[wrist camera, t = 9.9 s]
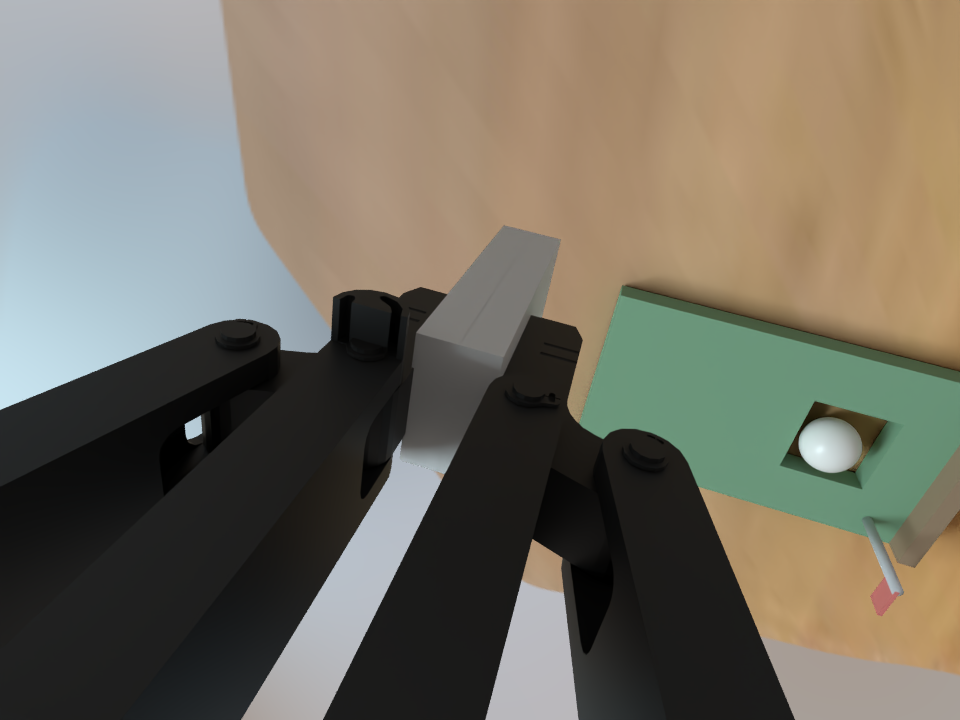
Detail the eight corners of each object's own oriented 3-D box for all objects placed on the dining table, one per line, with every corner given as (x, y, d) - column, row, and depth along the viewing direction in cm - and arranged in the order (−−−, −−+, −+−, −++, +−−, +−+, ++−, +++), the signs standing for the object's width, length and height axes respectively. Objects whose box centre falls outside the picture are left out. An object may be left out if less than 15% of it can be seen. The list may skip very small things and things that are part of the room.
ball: (804, 401, 45) (821, 431, 42) (860, 413, 45) (881, 445, 41) (783, 444, 47) (797, 476, 44) (837, 456, 47) (855, 490, 43)
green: (622, 285, 45) (614, 337, 37) (1002, 382, 41) (1081, 462, 33) (572, 443, 52) (557, 514, 45) (891, 537, 49) (934, 632, 41)
